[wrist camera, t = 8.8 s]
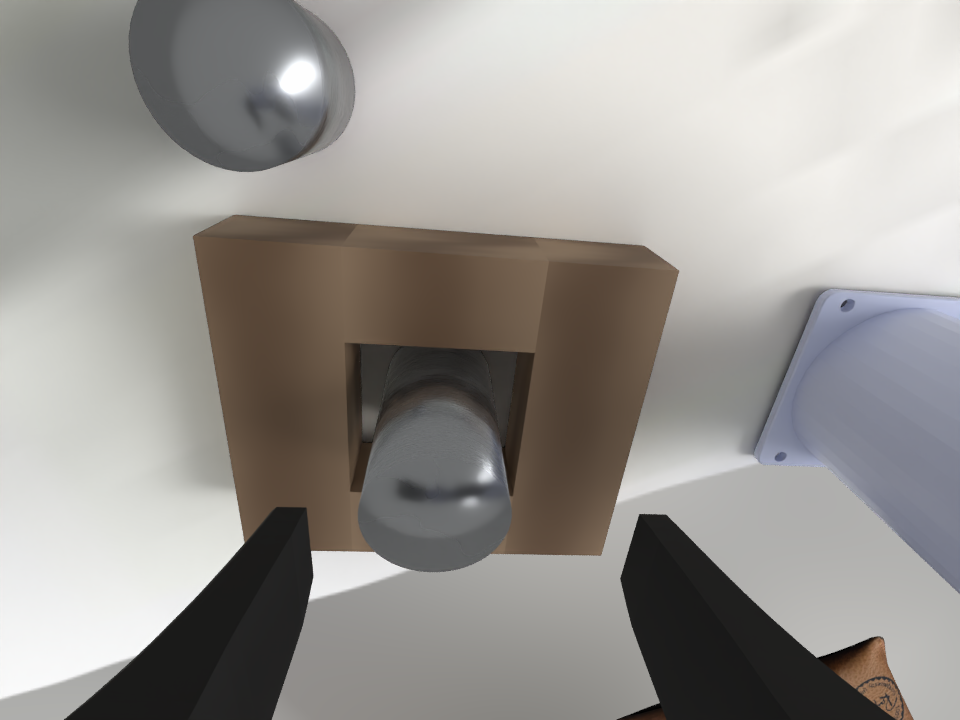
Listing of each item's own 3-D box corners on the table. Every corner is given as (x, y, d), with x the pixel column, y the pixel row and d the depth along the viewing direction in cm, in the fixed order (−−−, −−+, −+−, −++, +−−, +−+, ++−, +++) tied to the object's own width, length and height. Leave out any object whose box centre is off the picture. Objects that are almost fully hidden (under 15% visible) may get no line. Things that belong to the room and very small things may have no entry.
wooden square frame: (644, 245, 18) (679, 270, 15) (583, 503, 23) (601, 555, 20) (233, 214, 16) (193, 235, 14) (270, 495, 22) (245, 549, 19)
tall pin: (497, 338, 19) (525, 464, 12) (481, 425, 21) (497, 576, 14) (392, 326, 19) (362, 449, 12) (384, 416, 20) (353, 567, 14)
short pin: (353, 9, 14) (316, -28, 10) (356, 160, 16) (326, 178, 12) (206, -7, 14) (107, -53, 10) (226, 149, 16) (149, 164, 12)
